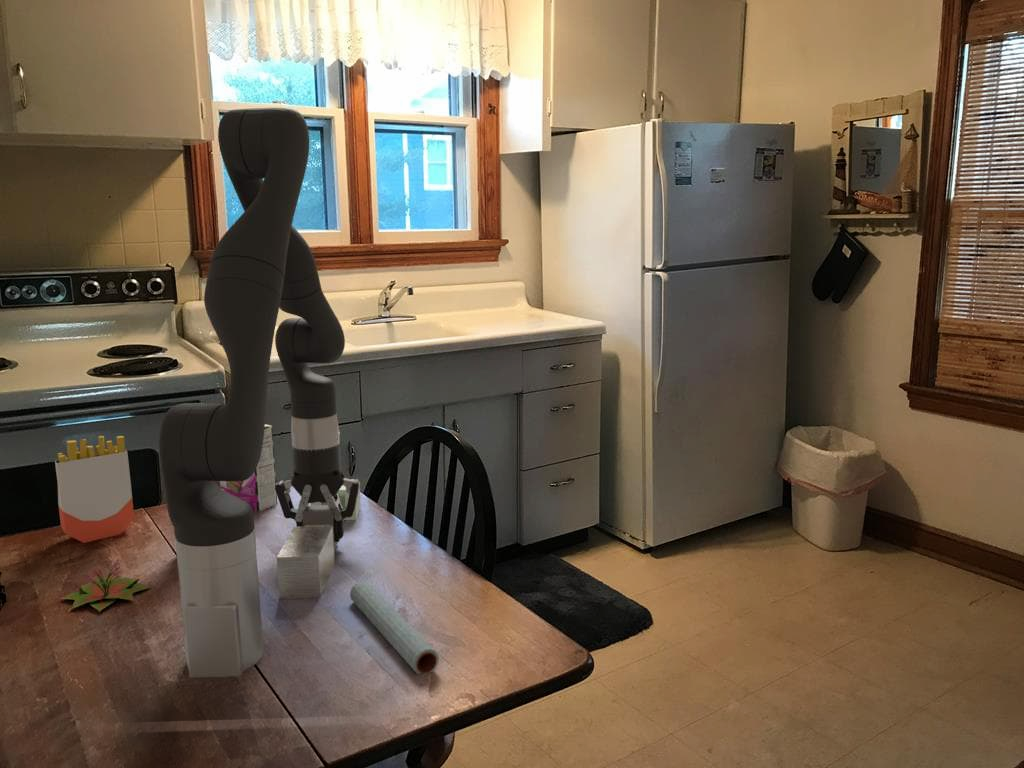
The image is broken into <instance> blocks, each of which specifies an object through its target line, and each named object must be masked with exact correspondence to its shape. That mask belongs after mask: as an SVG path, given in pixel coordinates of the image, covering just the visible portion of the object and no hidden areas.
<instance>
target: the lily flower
mask: <svg viewBox="0 0 1024 768" xmlns="http://www.w3.org/2000/svg"><path fill="white" fill-rule="evenodd" d="M117 565H118V563H115V564H114V566H113V567H112V568H111V570H110V572H109V573H108V574H107V572H105V577H104V573H103V572H102V571H101V569H100V567H98V566H96V569H97V570H98V571H99V573H100V574H99V573H98V571H96V570H94V569H91V571H92V572H93V573H94V575H95V576H96V577H97V579H99V580H93V578H90V577H88V578H87V579H88V580H89V581H90V582H88V583H87V584H82V585H81V586H80V588H81V590H76V591H73V592H71V593H69V594H66V595H65V596H62V597H59V598H58V599H60V600H61V599H62V600H74V602H73V604H72V606H71V608H70V611H71V610H72V609H76V608H77V607H80V606H83V605H85V604H88V603H89V605H90V606H91V607H92V608H94V609H95V610H97V611H98V612H99V613H100V612H101V611H102V610H103V609H105V608H106V607H108V606H110V605H111V604H113V603H114V602H116V601H117V599H122V600H127V601H132V602H135V600H134V596H133V594H134V593H136V592H139V591H144V590H146V589H150V588H152V586H150V585H145V584H143V583H135V582H136V581H138V580H139V579H141V577H140V578H139V577H138V578H137V577H132V578H131V577H120V575H117V572H116V571H117V570H120V569H121V566H118V567H117V568H115V567H116V566H117ZM114 568H115V570H113V569H114ZM116 575H117V576H116ZM109 593H112V594H111V595H109ZM103 594H104V596H102V595H103ZM103 599H106V600H103Z"/></svg>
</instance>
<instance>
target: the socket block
mask: <svg viewBox="0 0 1024 768" xmlns="http://www.w3.org/2000/svg"><path fill="white" fill-rule="evenodd" d="M350 479H351V478H350ZM355 479H356V478H353V479H351V480H355ZM337 494H338V496H339V499H340V503H341V506H342V508H343V509H344V508H346V507H347V503H348V499H349V494H350V493H347V492H346V487H345V486H344V485H342V487H341V488H340V489H339V491H338V492H337ZM309 505H328V504H327V503H321V502H315V503H309ZM361 507H362V505H361V487H360V488H359V493H358V497H357V502H356V506H355V510H354V512H353V515H352V516H351V517H346V518H344V520H356V519H357V520H358V517H359V515H358V514H360V512H361V509H362V508H361ZM360 508H361V509H360ZM359 511H360V512H359ZM357 516H358V517H357ZM357 520H356V521H357Z"/></svg>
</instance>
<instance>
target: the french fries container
mask: <svg viewBox="0 0 1024 768" xmlns="http://www.w3.org/2000/svg"><path fill="white" fill-rule="evenodd" d="M115 440H116V445H114V444H113V440H108V441H107V440H106V447H105V436H104V435H99V436H98V445H96V446H95V447H96V452H95V447H94V446H93V445H87V439H84V438H83V439H82V438H81V439H80V441H79V442H80V445H79V447H77V445H78V444H77V441H76V440H66V449H67V450H66V452H67V456H66V455H65V454H63V453H62V452H59V453H57V457H58V462H57V461H56V460H54V464H55V473H56V480H57V481H56V482H57V500H58V501H57V504H58V512H59V513H58V514H59V520H60V522H59V523H60V527H61V529H62V530H63V532H64V534H66V535H67V536H69V537H71V538H73V539H75V540H77V541H79V542H81V543H83V544H85V543H88V542H93V541H98V540H100V539H101V540H102V539H106V538H109V537H114V536H115V537H116V536H120V535H122V534H123V533H124V531H125V530H126V529H127V528H128V527H129V526H130V525H131V524H132V523H133V521H134V520H135V514H134V512H135V511H134V504H133V503H134V501H133V494H132V493H133V492H132V482H131V475H130V463H129V456H128V450H127V449H126V447H125V436H123V435H119V436H116V439H115Z"/></svg>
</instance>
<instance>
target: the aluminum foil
mask: <svg viewBox="0 0 1024 768" xmlns="http://www.w3.org/2000/svg"><path fill="white" fill-rule="evenodd" d="M349 597H350V599H351V601H352V602H353V603H354V604H355V605H356V606H357V608H358V609H359V610H360V612H362V613H363V615H364V616H365V617H366V618H367V619H368V620H369V621H370V622H371V623H372V625H373V626H374V627H375V628H376V629H377V630H378V631H379V632H380V634H381V635H382V636H383V637H384V638H385V640H387V642H389V644H390V645H391V646H392V647H393V649H394V650H396V652H397V653H398V654H399V655H400V657H401V658H403V660H404V661H405V662H406V663H407V664H408V665H409V666H410V668H411V669H412V670H413V671H414V672H415V673H416V674H417V675H420V674H427V673H429V674H431V673H433V672H434V671H435V670H436V668H437V666H438V665H439V659H440V657H439V653H437V651H436V649H434V648H433V647H432V646H431V645H430V644H429V643H428V642H427V641H426V640H425V639H424V637H422V636H421V635H420V633H419V632H417V630H416V629H415V628H414V627H413V626H412V625H411V624H410V623H409V622H408V621H407V620H406V619H405V618H404V617H403V616H402V615H401V614H400V613H399V612H398V610H396V609H395V608H394V607H393V606H392V605H391V604H390V603H389V601H387V599H385V597H383V595H381V593H380V592H379V591H377V589H376V588H375V587H374V586H373V585H372V584H371V583H370V582H369V581H366V580H364V581H358V582H356V583H354V585H353V586H352V588H351V589H350V593H349Z"/></svg>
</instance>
